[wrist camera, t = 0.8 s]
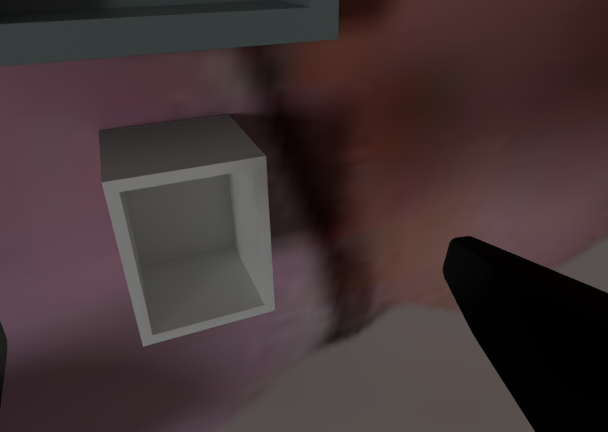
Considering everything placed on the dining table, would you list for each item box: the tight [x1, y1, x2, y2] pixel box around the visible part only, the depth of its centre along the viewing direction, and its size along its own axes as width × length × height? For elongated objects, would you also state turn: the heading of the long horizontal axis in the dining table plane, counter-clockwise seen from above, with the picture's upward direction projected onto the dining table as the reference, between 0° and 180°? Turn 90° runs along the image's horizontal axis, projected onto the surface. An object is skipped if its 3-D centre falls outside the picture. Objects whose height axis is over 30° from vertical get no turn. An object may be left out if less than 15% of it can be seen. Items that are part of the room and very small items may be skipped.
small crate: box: [99, 114, 275, 347], centre depth 18 cm, size 6×5×5 cm
